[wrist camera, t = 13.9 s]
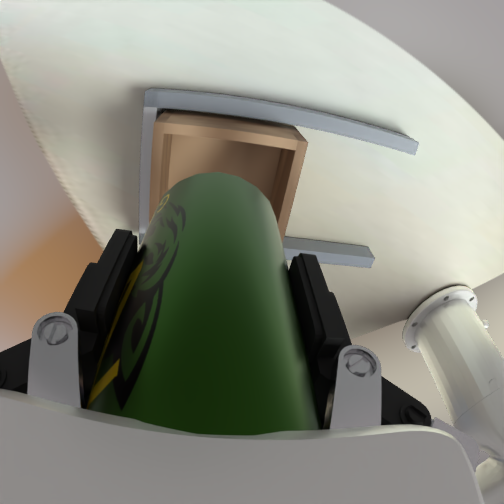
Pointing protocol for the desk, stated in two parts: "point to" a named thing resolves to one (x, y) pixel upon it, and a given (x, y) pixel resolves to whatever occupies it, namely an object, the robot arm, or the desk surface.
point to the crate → (227, 155)
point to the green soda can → (209, 320)
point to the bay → (271, 112)
